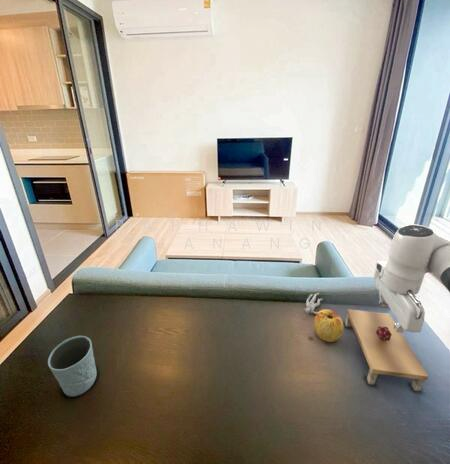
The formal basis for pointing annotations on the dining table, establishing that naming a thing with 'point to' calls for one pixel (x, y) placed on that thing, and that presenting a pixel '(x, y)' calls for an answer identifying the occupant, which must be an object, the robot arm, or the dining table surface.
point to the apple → (328, 325)
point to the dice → (383, 333)
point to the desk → (385, 348)
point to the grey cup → (73, 365)
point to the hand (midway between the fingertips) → (389, 317)
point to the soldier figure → (312, 304)
